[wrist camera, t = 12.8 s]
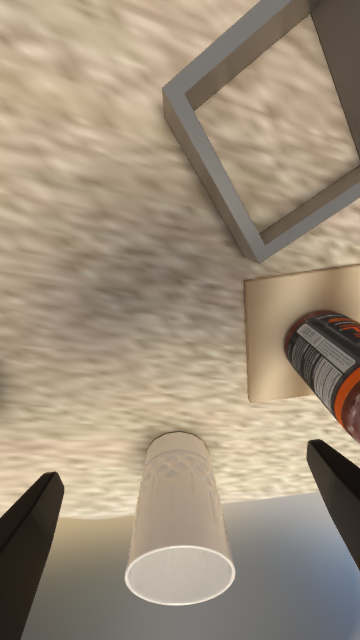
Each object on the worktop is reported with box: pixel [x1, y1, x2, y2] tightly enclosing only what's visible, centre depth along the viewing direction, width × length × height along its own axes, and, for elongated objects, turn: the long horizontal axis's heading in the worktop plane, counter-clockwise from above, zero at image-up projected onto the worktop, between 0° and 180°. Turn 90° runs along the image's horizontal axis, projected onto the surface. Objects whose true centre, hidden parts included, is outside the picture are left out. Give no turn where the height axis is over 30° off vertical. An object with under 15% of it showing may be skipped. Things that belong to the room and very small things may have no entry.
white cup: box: [125, 432, 235, 605], centre depth 22 cm, size 8×8×10 cm
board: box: [244, 264, 360, 403], centre depth 21 cm, size 12×12×1 cm
